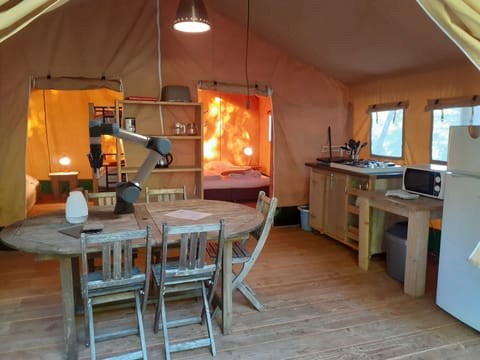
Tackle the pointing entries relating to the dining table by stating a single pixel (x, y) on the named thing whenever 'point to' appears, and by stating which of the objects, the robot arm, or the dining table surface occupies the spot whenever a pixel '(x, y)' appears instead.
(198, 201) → the dining table surface
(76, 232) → the rubber mat
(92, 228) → the ink box
